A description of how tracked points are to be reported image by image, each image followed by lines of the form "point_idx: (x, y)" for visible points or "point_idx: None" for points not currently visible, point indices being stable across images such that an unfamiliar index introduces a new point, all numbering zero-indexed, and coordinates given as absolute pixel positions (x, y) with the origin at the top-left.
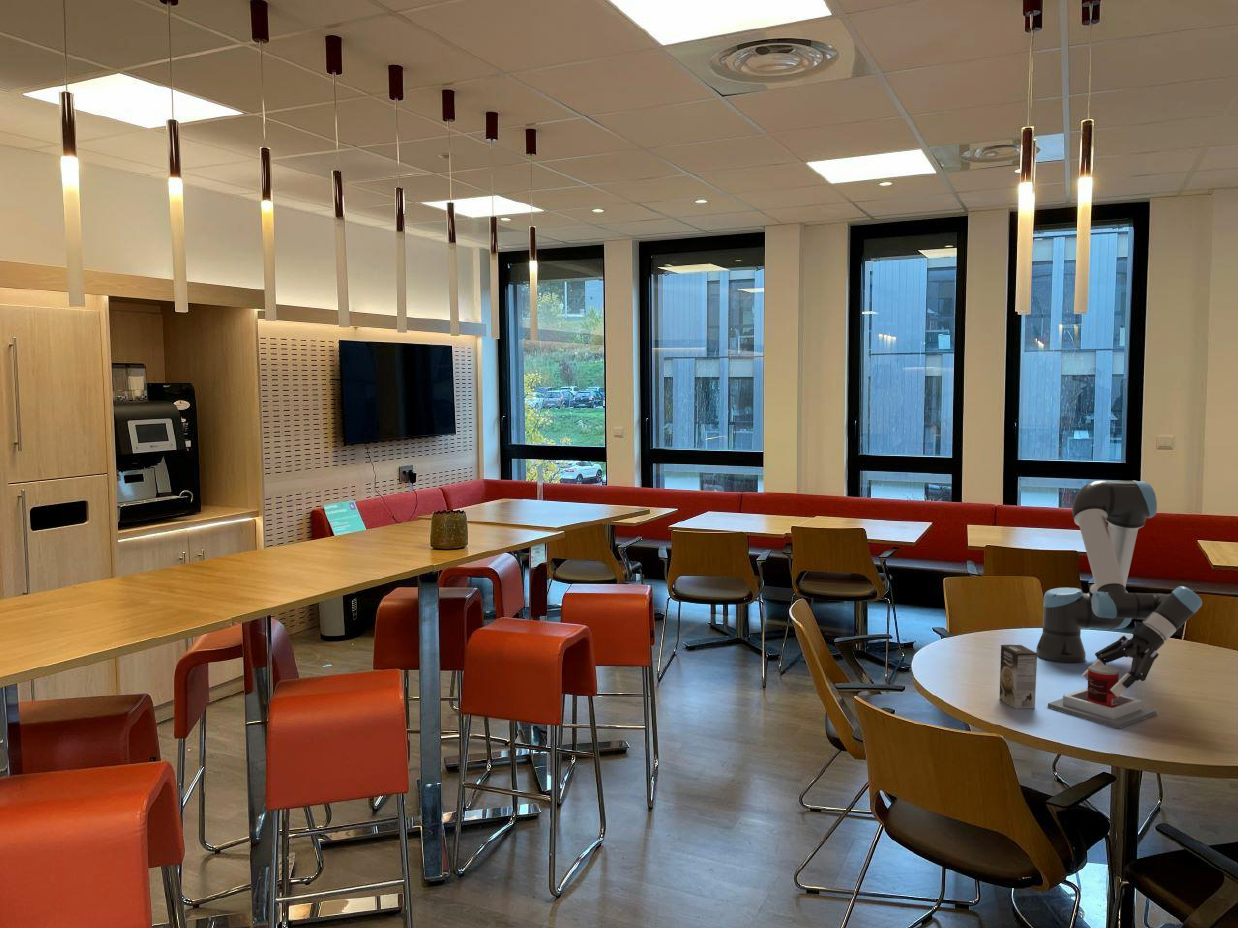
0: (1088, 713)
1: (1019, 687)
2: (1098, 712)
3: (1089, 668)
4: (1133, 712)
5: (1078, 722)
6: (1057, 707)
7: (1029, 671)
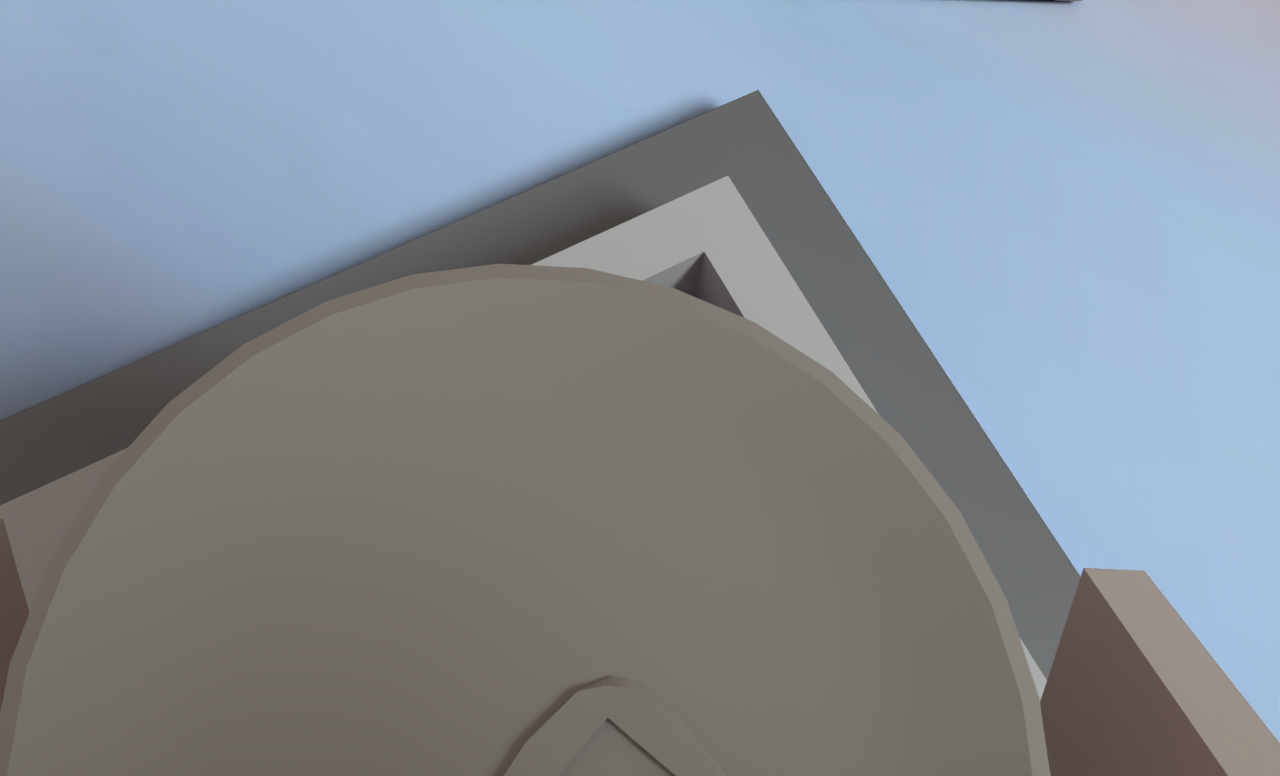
0: None
1: None
2: None
3: (631, 283)
4: None
5: (226, 165)
6: (644, 147)
7: None
